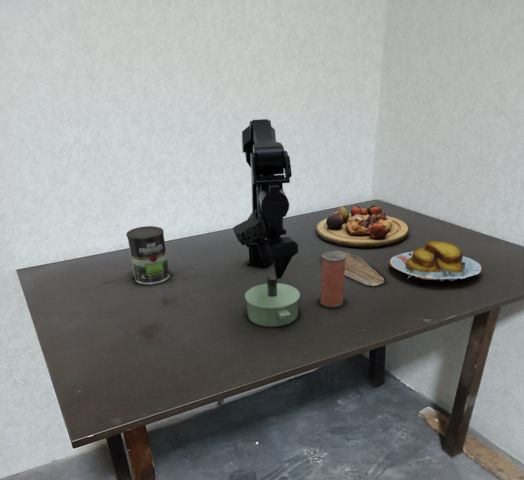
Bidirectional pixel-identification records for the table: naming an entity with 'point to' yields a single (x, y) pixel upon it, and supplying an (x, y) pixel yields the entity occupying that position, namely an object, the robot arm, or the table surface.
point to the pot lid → (272, 295)
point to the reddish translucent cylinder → (332, 279)
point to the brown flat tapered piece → (361, 271)
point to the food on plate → (436, 262)
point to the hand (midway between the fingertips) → (271, 271)
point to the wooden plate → (362, 228)
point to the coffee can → (148, 255)
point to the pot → (272, 315)
